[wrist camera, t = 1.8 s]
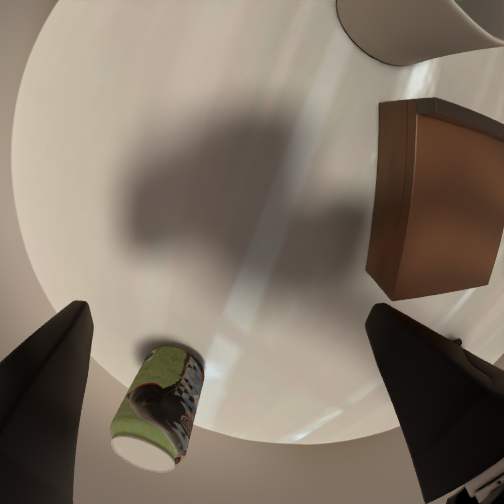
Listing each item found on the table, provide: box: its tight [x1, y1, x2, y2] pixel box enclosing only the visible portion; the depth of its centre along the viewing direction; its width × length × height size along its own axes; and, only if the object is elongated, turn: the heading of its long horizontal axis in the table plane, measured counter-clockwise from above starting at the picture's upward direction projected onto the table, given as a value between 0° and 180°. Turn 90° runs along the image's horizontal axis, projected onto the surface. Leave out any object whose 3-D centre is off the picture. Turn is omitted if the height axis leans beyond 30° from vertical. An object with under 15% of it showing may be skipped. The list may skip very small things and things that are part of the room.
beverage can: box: [110, 346, 204, 473], centre depth 20 cm, size 6×7×12 cm
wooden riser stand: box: [366, 97, 504, 301], centre depth 17 cm, size 14×12×7 cm
